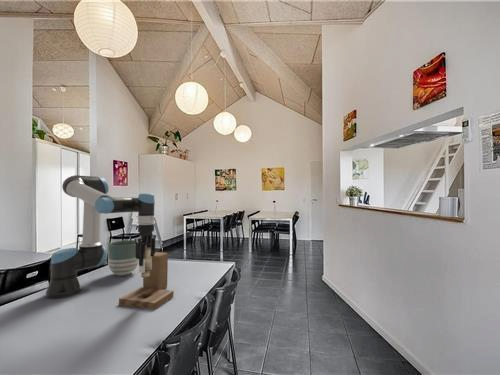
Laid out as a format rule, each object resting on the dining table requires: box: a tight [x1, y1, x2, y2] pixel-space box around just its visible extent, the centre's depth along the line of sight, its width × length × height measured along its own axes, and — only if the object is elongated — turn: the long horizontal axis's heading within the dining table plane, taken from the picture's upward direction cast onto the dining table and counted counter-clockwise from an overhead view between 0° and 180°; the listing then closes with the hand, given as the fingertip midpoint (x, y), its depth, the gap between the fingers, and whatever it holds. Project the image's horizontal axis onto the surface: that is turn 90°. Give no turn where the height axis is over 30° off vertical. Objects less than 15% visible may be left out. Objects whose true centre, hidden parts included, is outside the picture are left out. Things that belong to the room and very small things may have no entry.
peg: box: [140, 247, 151, 278], centre depth 127 cm, size 5×5×14 cm
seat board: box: [118, 286, 174, 310], centre depth 128 cm, size 20×16×3 cm
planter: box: [107, 239, 139, 277], centre depth 172 cm, size 20×20×21 cm
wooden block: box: [142, 251, 169, 290], centre depth 144 cm, size 10×10×20 cm
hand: (145, 270), depth 127 cm, fingers closed on peg, 4 cm apart
